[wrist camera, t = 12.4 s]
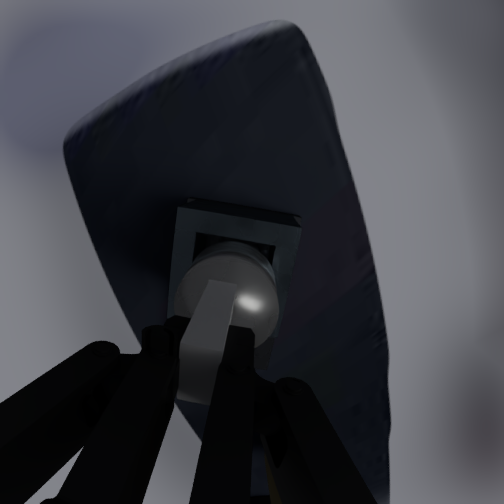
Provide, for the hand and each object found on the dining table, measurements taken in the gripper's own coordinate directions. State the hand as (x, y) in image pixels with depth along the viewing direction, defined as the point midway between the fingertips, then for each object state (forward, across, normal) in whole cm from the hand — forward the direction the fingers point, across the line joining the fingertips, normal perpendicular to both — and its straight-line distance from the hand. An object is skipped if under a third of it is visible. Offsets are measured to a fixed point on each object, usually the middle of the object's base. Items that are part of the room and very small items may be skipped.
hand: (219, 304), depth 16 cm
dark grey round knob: (+11, 0, 0) cm, 11 cm away
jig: (+12, 0, +4) cm, 13 cm away
